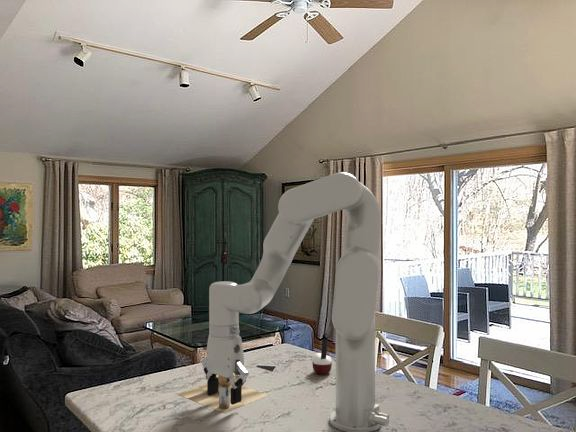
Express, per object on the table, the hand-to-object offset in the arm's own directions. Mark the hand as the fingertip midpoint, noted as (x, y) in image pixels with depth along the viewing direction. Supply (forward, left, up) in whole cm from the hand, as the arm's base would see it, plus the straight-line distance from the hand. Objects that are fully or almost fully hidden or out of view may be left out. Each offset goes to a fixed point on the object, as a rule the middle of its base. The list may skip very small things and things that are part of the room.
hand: (224, 398), depth 119 cm
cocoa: (-1, -41, -4) cm, 41 cm away
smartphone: (+14, -29, -4) cm, 32 cm away
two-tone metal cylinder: (0, 0, -2) cm, 2 cm away
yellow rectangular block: (+10, -9, -2) cm, 14 cm away
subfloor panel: (+7, -6, -3) cm, 10 cm away
